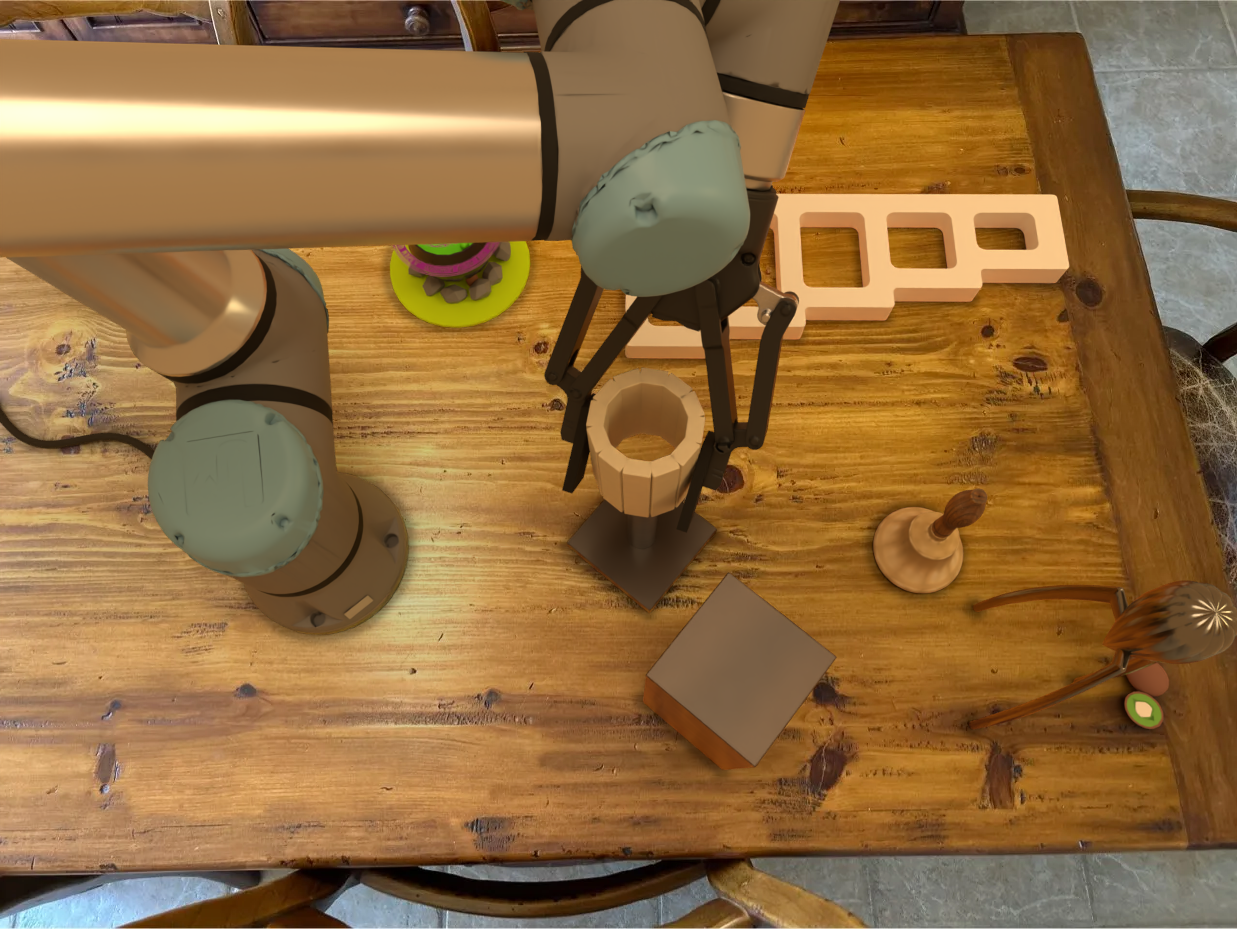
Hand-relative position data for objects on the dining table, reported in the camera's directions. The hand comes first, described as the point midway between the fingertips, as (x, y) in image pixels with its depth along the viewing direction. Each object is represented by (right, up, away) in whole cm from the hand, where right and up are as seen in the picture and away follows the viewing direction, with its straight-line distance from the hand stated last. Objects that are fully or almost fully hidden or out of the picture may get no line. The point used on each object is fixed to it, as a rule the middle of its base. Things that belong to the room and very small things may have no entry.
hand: (628, 502), depth 62 cm
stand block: (+8, -18, +17) cm, 26 cm away
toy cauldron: (-18, +24, +33) cm, 44 cm away
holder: (+23, +22, +31) cm, 44 cm away
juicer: (+33, -17, +17) cm, 41 cm away
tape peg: (+1, -5, +22) cm, 23 cm away
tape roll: (+1, +2, +3) cm, 4 cm away
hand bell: (+27, -5, +21) cm, 35 cm away
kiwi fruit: (+45, -17, +16) cm, 51 cm away
